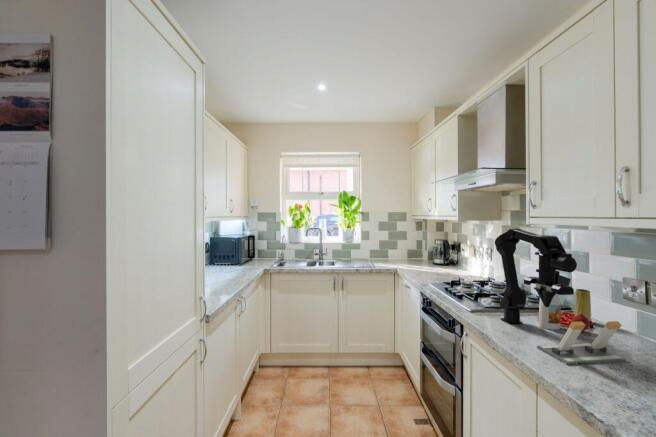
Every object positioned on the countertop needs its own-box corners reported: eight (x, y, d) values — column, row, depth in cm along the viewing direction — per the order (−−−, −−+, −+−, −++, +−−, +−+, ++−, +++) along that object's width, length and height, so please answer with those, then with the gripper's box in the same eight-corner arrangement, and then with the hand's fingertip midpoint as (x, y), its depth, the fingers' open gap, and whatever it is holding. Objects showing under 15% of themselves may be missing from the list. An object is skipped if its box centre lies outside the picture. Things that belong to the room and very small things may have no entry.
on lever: (588, 347, 114) (607, 321, 107) (597, 346, 115) (617, 321, 107) (591, 351, 113) (611, 325, 106) (601, 350, 113) (621, 325, 106)
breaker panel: (536, 347, 118) (536, 341, 118) (589, 344, 120) (590, 338, 120) (566, 364, 105) (567, 357, 105) (625, 361, 107) (625, 354, 107)
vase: (577, 322, 144) (578, 291, 144) (571, 318, 150) (572, 288, 149) (593, 324, 142) (594, 292, 142) (586, 319, 148) (587, 289, 148)
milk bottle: (540, 328, 137) (540, 282, 136) (537, 322, 144) (538, 279, 143) (561, 331, 133) (562, 284, 133) (558, 325, 140) (559, 280, 140)
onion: (583, 329, 136) (583, 310, 136) (592, 334, 131) (593, 315, 130) (568, 328, 137) (568, 310, 137) (577, 333, 131) (578, 314, 131)
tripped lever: (555, 349, 113) (571, 321, 106) (565, 348, 113) (581, 321, 106) (558, 353, 111) (575, 325, 105) (568, 352, 112) (585, 325, 105)
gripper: (587, 271, 116) (586, 313, 117) (547, 263, 135) (546, 299, 135) (560, 272, 115) (559, 315, 115) (523, 263, 134) (522, 300, 134)
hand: (546, 306), depth 125 cm, fingers closed
